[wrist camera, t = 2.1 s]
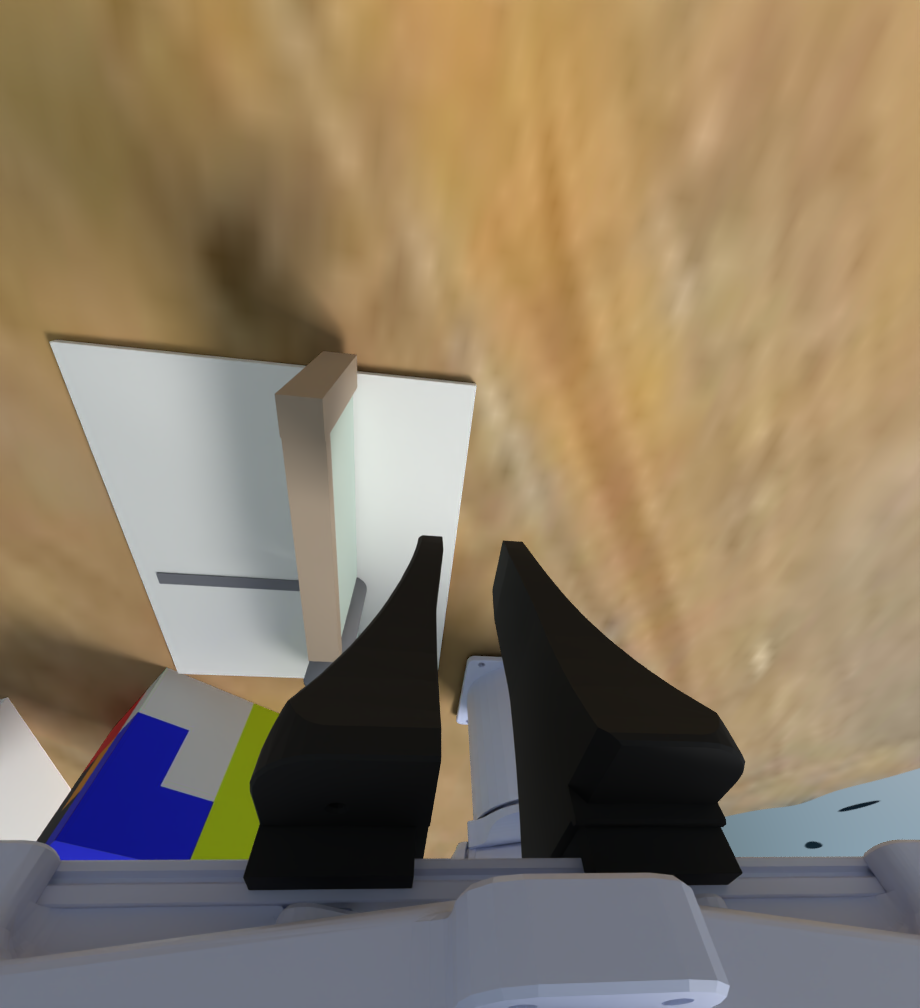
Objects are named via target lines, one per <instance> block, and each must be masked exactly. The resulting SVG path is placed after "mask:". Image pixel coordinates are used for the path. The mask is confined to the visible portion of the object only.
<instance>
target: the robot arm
mask: <svg viewBox="0 0 920 1008" xmlns="http://www.w3.org/2000/svg"><path fill="white" fill-rule="evenodd" d="M442 558H443V538H442V536H428V535H422V536H420V537H419V538H418V542H417V546H416V549H415V552H414V554H413V556H412V559H411V561H410V563H409V565H408V567H407V569H406V571H405V572H404V574H403V576H402V578H401V580H400V581H399V583H398V585H397V586H396V588H395V589H394V591H393V592H392V594H391V596H390V597H389V599H388V600H387V602H386V603H385V604H384V606H383V607H382V609H381V610H380V611H379V613H378V614H377V615H376V616H375V618H374V619H373V620H372V621H371V623H370V624H369V625H368V626H367V627H366V629H365V630H364V631H363V632H362V633H361V634H360V635H359V637H358V638H357V639H356V640H355V641H354V642H353V643H352V644H351V645H350V646H349V647H348V648H347V649H346V650H345V651H344V652H343V653H342V654H341V655H340V656H339V657H338V658H337V659H336V660H335V661H334V662H333V663H332V664H331V665H330V666H329V667H328V668H327V669H325V670H324V671H323V672H322V673H321V674H320V675H319V676H318V677H316V678H315V679H314V680H313V681H311V682H310V683H309V684H308V685H307V686H305V687H304V688H303V689H302V690H300V691H299V692H298V693H297V694H296V695H294V696H293V697H292V698H291V699H289V700H288V701H287V703H286V704H285V706H284V707H283V709H282V711H281V712H280V714H279V716H278V717H277V719H276V721H275V723H274V725H273V726H272V728H271V730H270V732H269V734H268V736H267V738H266V740H265V742H264V745H263V747H262V749H261V752H260V754H259V757H258V760H257V763H256V766H255V768H254V771H253V774H252V777H251V780H250V794H251V797H252V800H253V803H254V806H255V810H256V813H257V816H258V819H259V822H260V825H259V828H258V831H257V834H256V838H255V841H254V844H253V847H252V850H251V854H250V857H249V859H243V860H60V857H59V855H58V854H57V852H56V851H55V850H54V849H53V848H52V847H50V846H49V845H47V844H44V843H41V842H37V841H29V840H0V1008H920V840H892V841H887V842H883V843H880V844H878V845H876V846H874V847H872V848H871V849H869V850H868V851H867V852H866V853H865V854H864V857H735V856H734V854H733V852H732V850H731V848H730V846H729V843H728V842H727V839H726V837H725V835H724V833H723V831H722V829H721V827H723V826H724V825H726V819H725V817H724V815H723V813H722V811H721V809H720V807H719V805H718V803H717V802H718V801H719V800H720V799H721V798H722V797H723V796H724V795H725V794H726V793H727V792H728V791H729V790H730V789H731V788H732V786H733V785H734V784H735V783H736V782H737V781H738V779H739V778H740V777H741V775H742V773H743V770H744V765H745V760H744V758H743V756H742V754H741V752H740V750H739V748H738V747H737V745H736V743H735V742H734V740H733V738H732V736H731V735H730V733H729V731H728V730H727V728H726V727H725V725H724V723H723V722H722V720H721V719H720V717H719V716H718V714H717V713H716V712H714V711H713V710H711V709H709V708H708V707H706V706H704V705H703V704H701V703H699V702H698V701H696V700H694V699H693V698H691V697H689V696H687V695H686V694H684V693H682V692H681V691H679V690H677V689H676V688H674V687H673V686H671V685H670V684H668V683H667V682H665V681H664V680H662V679H661V678H660V677H658V676H657V675H655V674H654V673H652V672H651V671H649V670H648V669H647V668H645V667H644V666H642V665H641V664H640V663H638V662H637V661H636V660H634V659H633V658H632V657H630V656H629V655H628V654H627V653H625V652H624V651H623V650H622V649H620V648H619V647H618V646H617V645H615V644H614V643H613V642H612V641H611V640H609V639H608V638H607V637H606V636H605V635H604V634H603V633H601V632H600V631H599V630H598V629H597V628H596V627H595V626H594V625H593V624H592V623H591V622H590V621H588V620H587V619H586V618H585V617H584V616H583V615H582V614H581V613H580V612H579V611H578V609H577V608H576V607H575V606H574V605H573V604H572V603H571V602H570V601H569V600H568V599H567V598H566V597H565V595H564V594H563V593H562V592H561V591H560V590H559V588H558V587H557V586H556V585H555V583H554V582H553V581H552V580H551V579H550V577H549V576H548V575H547V574H546V572H545V571H544V570H543V568H542V567H541V566H540V565H539V563H538V562H537V561H536V559H535V558H534V557H533V555H532V554H531V553H530V551H529V550H528V549H527V547H526V546H525V545H524V543H523V542H515V541H503V543H502V547H501V552H500V557H499V562H498V566H497V571H496V576H495V581H494V585H493V606H494V619H495V625H496V630H497V635H498V640H499V645H500V650H501V655H502V657H491V656H471V657H469V658H468V660H467V664H466V669H465V674H464V680H463V685H462V690H461V695H460V701H459V706H458V711H457V716H456V718H457V722H458V723H459V724H468V731H469V748H470V766H471V783H472V801H473V819H474V820H472V821H468V823H467V825H468V842H461V843H459V844H458V845H457V847H456V850H455V852H454V854H453V855H452V857H451V859H423V856H424V850H425V844H426V838H427V832H428V827H429V826H430V822H431V816H432V810H433V805H434V799H435V793H436V787H437V781H438V776H439V770H440V764H441V719H440V703H439V685H438V661H437V621H436V609H437V601H438V592H439V584H440V575H441V567H442Z"/></svg>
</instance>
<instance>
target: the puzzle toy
mask: <svg viewBox="0 0 920 1008" xmlns="http://www.w3.org/2000/svg"><path fill="white" fill-rule="evenodd" d="M278 716H279V714H278V713H276V712H274V711H271V710H269V709H266V708H264V707H261V706H259V705H257V704H254V703H252V702H249V701H247V700H244V699H242V698H240V697H237V696H235V695H232V694H230V693H228V692H225V691H223V690H220V689H218V688H215V687H213V686H211V685H208V684H206V683H203V682H201V681H198V680H196V679H194V678H191V677H189V676H186V675H184V674H178V672H177V671H174V670H172V669H169V668H166V669H165V670H164V671H163V672H162V674H161V675H160V676H159V677H158V678H157V679H156V680H155V681H154V683H153V684H152V685H151V686H150V687H149V688H148V689H147V691H146V692H145V693H144V694H143V695H142V696H141V697H140V698H139V700H138V701H137V702H136V703H135V704H134V705H133V706H132V707H131V709H130V710H129V711H128V712H127V713H126V714H125V715H124V717H123V718H122V719H121V720H120V721H119V722H118V723H117V724H116V726H115V727H114V728H113V729H112V731H111V732H110V733H109V735H108V736H107V738H106V739H105V741H104V742H103V744H102V745H101V747H100V748H99V750H98V751H97V753H96V754H95V756H94V757H93V758H92V760H91V761H90V763H89V764H88V766H87V767H86V769H85V770H84V772H83V773H82V775H81V776H80V778H79V779H78V781H77V782H76V783H75V785H74V786H73V788H72V789H71V791H70V792H69V794H68V795H67V797H66V798H65V800H64V801H63V803H62V804H61V805H60V807H59V808H58V810H57V811H56V813H55V814H54V816H53V817H52V819H51V820H50V822H49V823H48V825H47V826H46V828H45V829H44V830H43V832H42V833H41V835H40V836H39V838H38V839H37V842H41V843H44V844H47V845H49V846H50V847H52V848H53V849H54V850H55V851H56V852H57V854H58V855H59V857H60V860H243V859H249V856H250V853H251V850H252V847H253V843H254V840H255V837H256V834H257V831H258V827H259V824H260V822H259V819H258V816H257V813H256V810H255V806H254V803H253V800H252V797H251V794H250V780H251V777H252V774H253V771H254V768H255V766H256V763H257V760H258V757H259V754H260V752H261V749H262V747H263V745H264V742H265V740H266V738H267V736H268V734H269V732H270V730H271V728H272V726H273V725H274V723H275V721H276V719H277V717H278Z"/></svg>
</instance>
